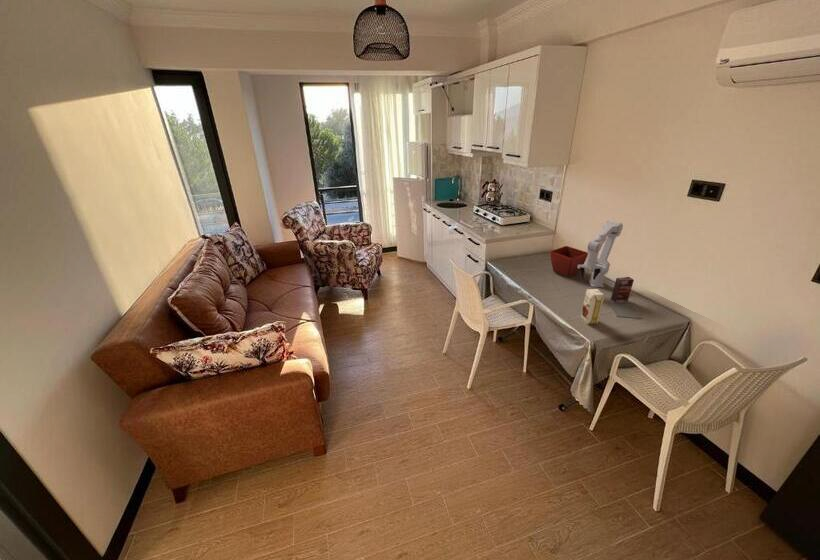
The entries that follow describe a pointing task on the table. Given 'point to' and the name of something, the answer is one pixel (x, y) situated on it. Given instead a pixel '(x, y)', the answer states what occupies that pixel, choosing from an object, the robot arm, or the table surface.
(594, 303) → the juice carton
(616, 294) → the supplement box
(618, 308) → the mat
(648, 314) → the table surface
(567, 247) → the plant pot
